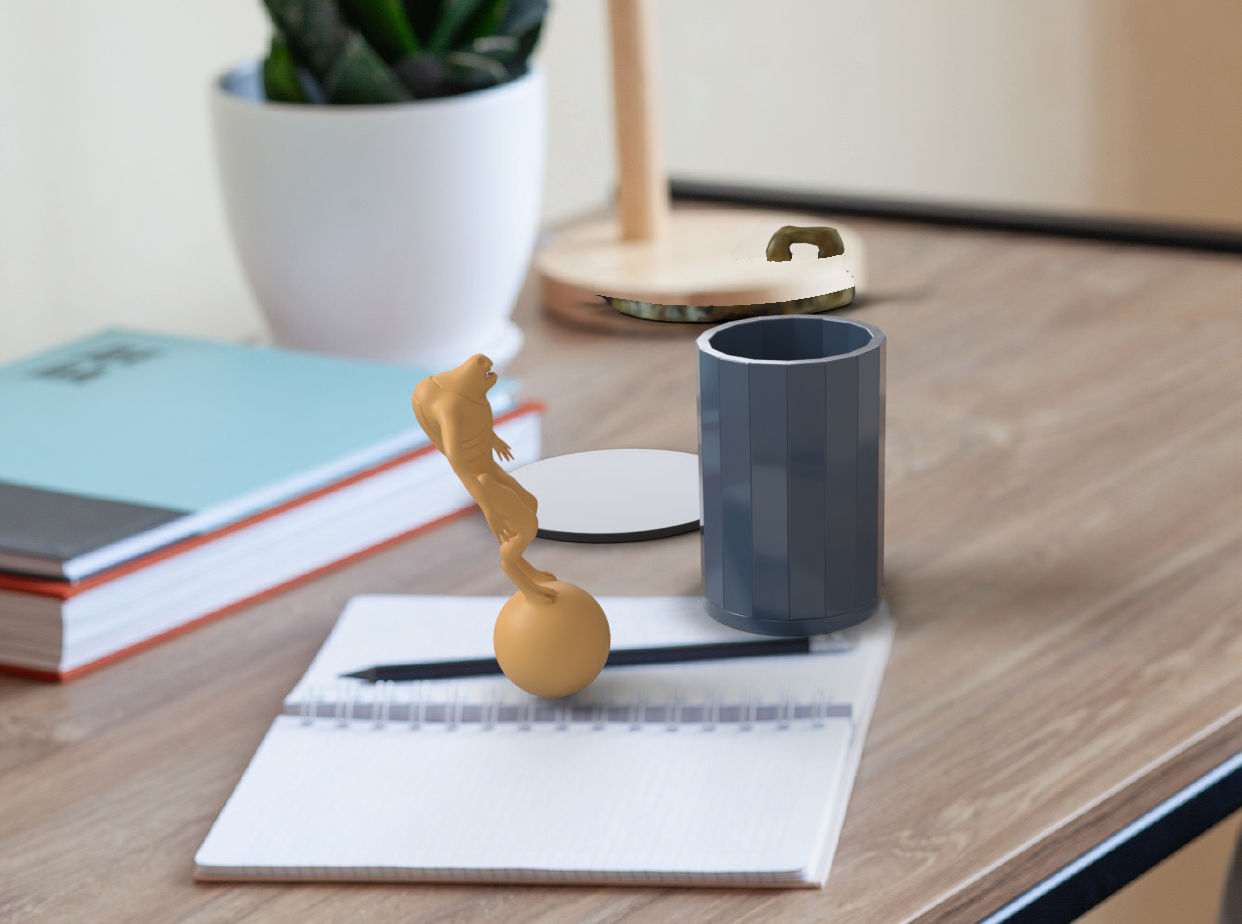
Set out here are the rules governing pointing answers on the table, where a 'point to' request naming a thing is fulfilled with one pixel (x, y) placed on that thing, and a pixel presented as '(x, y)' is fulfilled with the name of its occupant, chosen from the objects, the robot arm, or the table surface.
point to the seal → (777, 252)
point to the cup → (791, 472)
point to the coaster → (614, 494)
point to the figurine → (513, 542)
